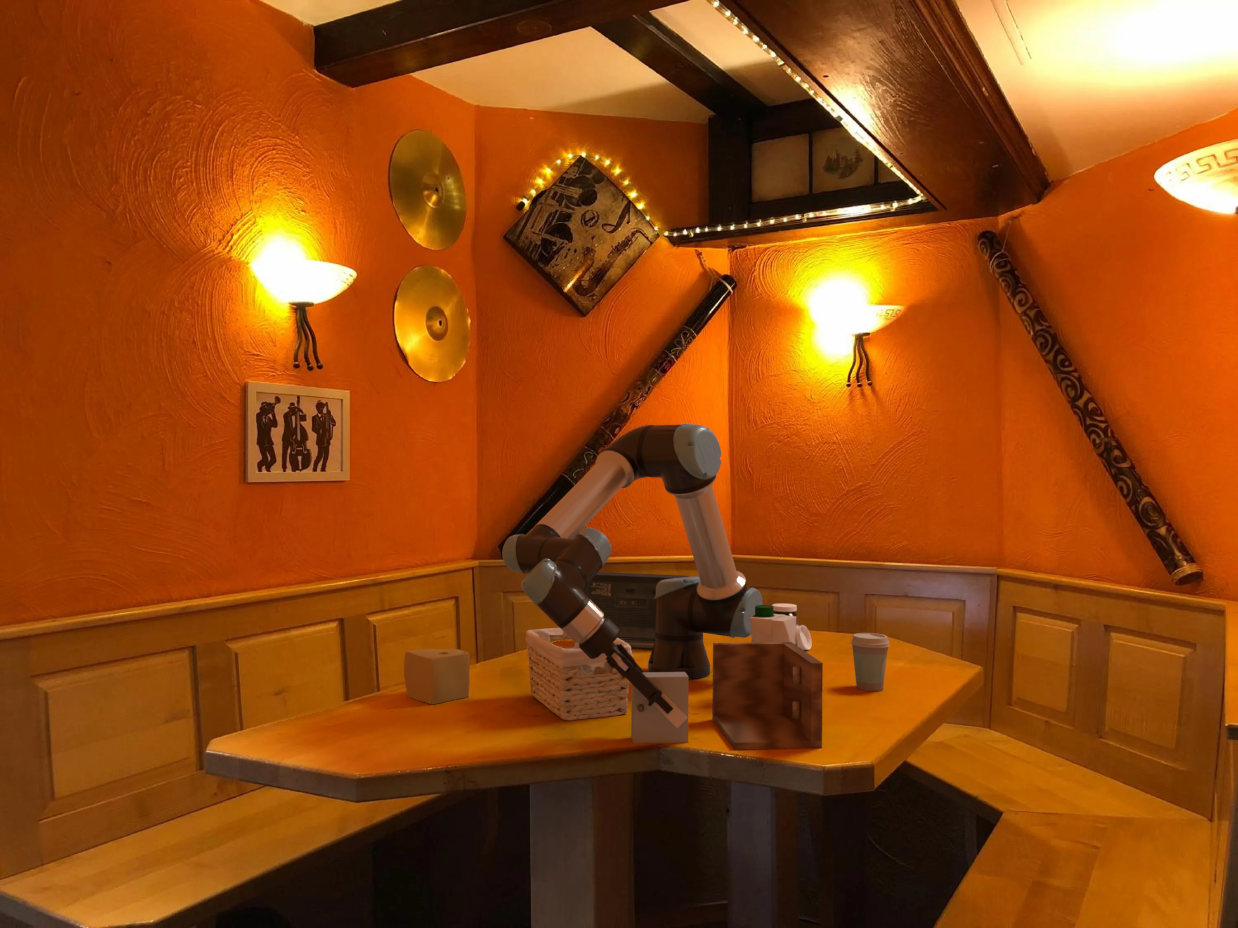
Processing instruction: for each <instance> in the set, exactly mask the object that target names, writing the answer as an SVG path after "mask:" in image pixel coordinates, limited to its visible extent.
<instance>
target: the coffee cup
mask: <svg viewBox="0 0 1238 928" xmlns="http://www.w3.org/2000/svg"><path fill="white" fill-rule="evenodd" d="M850 641H851V642H850V645H852V646H851V647H852V656H853V664H854V665H853V666H854V675H855V684H856V689H858V690H860V691H865V692H881V691H883V690H884V683H885V676H886V669H887V668H886V667H887V658H888V650H889V647H890V641H889V639H888V636H887V635H885V634H882V633H875V632H874V633H873V632H859V633H854V634H853V636H852V639H851V640H850Z"/></svg>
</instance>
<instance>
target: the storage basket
mask: <svg viewBox="0 0 1238 928" xmlns="http://www.w3.org/2000/svg"><path fill="white" fill-rule="evenodd" d="M563 633H564V631H563V630H562V629H561V628H559V627H550V628H539V629H538V628H537V629H528V630H526V632H525V635H526V637H525V644H527V645H526V648H527V649H526V650H527V651H526V652H527V655H528V656H527V657H528V663H529V664H528V668H529V683H530V684H529V685H530V693H531V695H532V696H533V698H535V699H536V700H537V701H539V703H541V704H543V705H544V706H545V707H546V708H547V709H548V710H549V711H550V712H552V713H554V714H555V715H557V717H558V718H560V719H562V720H563V721H577V720H585V719H597V718H607V717H617V716H620V715H626V714H627V713H628V705H629V704H628V703H629V699H628V698H629V693H630V692H629V687H630V683H631V682H630V681H629V680H628V679H627V678H626V677H623V676H622V675H621V674H620V673H619V672H618V671H617V670H616V669H615V668H612V667H611V666H610V665H609V664H608V663H607V660H606V658H607V656H606V655H605V654H604V653H603V654H601V655H600V656H599V657H597V658H595V659H590V658H589V657H588V656H587V655H586V654H585V653H584V652H583V651H582V650H581V649H580V648H579V643H580V642H579V643H575V642H574V641H573V644H574V646H573V647H570V648H569V647H568V648H563V647H562V646H557V645H556V644H554V643H552V642H551V641H553V642H554V641H568V640H572V639H571V638H570V637H569V635H568V636H567V637H563V635H562V634H563ZM614 643H615V644H618V645H620V644H622V645H623V646H624V647H625V649H626V650H627V652H628V653H629V654H630V655H631V656H632V657H633V658H634V656H633V652H632V649H631V646H630V645H629V644H627V643H626V642H624V641H623V640H621V639H619V638H616V640H615V641H614Z"/></svg>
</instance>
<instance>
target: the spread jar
mask: <svg viewBox="0 0 1238 928" xmlns="http://www.w3.org/2000/svg"><path fill="white" fill-rule="evenodd" d="M771 606H773V607H774V614H783V615H786V616H796V635H795V645H796V646H798V647H799V648H801V649H802V650H805V651H809V650H811V648H812V644H813V642H812V641H813V640H812V636H811V633H810V630H809V629H808V627H807V626H806V625H804V624H801V625H799V616H798V613H797V610H798V608H797V607H798V605H797V604H794V603H773V604H772V605H771Z"/></svg>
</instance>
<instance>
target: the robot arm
mask: <svg viewBox="0 0 1238 928" xmlns="http://www.w3.org/2000/svg"><path fill="white" fill-rule="evenodd" d="M721 457H722V450H721V445H720V441H719V439H718V437H717V436H716V434H715V433H714V432H713V431H712V430H711V429H710V428H708V427H707V426H705V425H702V424H693V423H682V424H647V425H646V424H645V425H641V426H638V427H634V428H633V429H631V430H629V431H627V432H626V433H624V434H622V435H621V436H619V437H618V438H616V439H615V440H614V441H612V442H611V443H610V444H609V445H608V446H606V447H605V448H604V449H603V450H602V452H600V453H599V454H598V455H597V457H596V459H595V460H596V461H595V465H594V466H593V467H592V468H591V469H589V470H588V472H586V474H585V475H584V476H583V477H582V478H581V479H580V480H578V482H577V483H576V484H575V485H574V486H573V487H572V488H571V489H570V490H569V491H567V493H566V494H565V495H564V496H563V497H562V498H561V499H560V500H559V501H558V502H557V503H556V504H555V505H554V506H553V507H552V508H551V509H550V510H549V511H548V512H547V513H546V514H545V516H543V517H542V518H541V519H540V520H539V521H538V522H537V523H536V524H535V525H534V526H533V527H532V528H531V529H530V530H529V531H528V532H527V533H526V534H524V533H519V534H514V535H511V536H509V537H508V538H507V539H506V540H505V542H504V545H503V547H502V559H503V562H504V564H505V567H506V568H507V569H509V570H510V571H511V572H517V573H521V574H525V575H526V576H525V577H523V579H522V580H521V583H520V587H521V588H520V589H521V590H522V591H523V593H525V595H526V596H527V598H529V600H531V601H532V603H533V604H534V605H535V606H537V608H539V609H540V610H541V611H542V612H543V613H544V614H545V615H546V616H547V617H548V618H549V619H550V620H551V621H552V622H553V624H555V625H556V626H558V627H557V628H561V629H562V630H563V631H564V633H563V634H562V635H563V637H567V636H568V635H569V637H570V638H571V639H570V640H571V641H572V642H573V643H574V642H575V643H579V642H580V643H579V648H580V649H581V650H582V651H583V652H584V653H585V654H586V655H587V656H588V657H589V658H590V659H595V658H597V657H599V656H600V655H601V654H603V653H604V654H605V655H606V656H607V658H606V660H607V663H608V664H609V665H610V666H611V667H612V668H615V669H616V670H617V671H618V672H619V673H620V674H621V675H622V676H623V677H626V678H627V679H628V680H629V681H630V682H629V683H630V684H631V685H632V684H633V685H634V686H635V687H636V688H637V689H638V690H639V691H640V692H641V693H642V694H643V695H644V696H645V697H646V698H647V699H648V701H649V703H648V705H649V706H651V705H652V704H653V705H654V706H655V707H656V708H657V709H658V710H659V711H660V712H661V713H662V714H663V715H664V716H665V717H666V718H667V719H668V720H669V721H670V722H671V723H672V724H673V725H674V726H675V727H676V728H678V727H679V726H680V725H681V724H682V723H683V722H684V721H685V720H686V719H687V718H688V719H689V716H688V717H687V716H686V715H685V714H684V713H683V712H682V711H681V710H680V709H679V708H678V707H677V706H676V705H675V704H674V703H673V702H672V701H671V700H670V699H669V698H668V697H667V696H666V695H665V694H664V693H663V692H661V691H660V690H658V688H657V687H656V686H655V685H654V684H653V683H652V682H651V681H650V680H649V679H648V678H647V677H646V676H645V675H644V674H643V672H646V671H645V670H644V669H643V668H642V667H641V666H640V665H639V664H638V663H637V662H636V660H635V658H634V656H633V655H632V656H633V657H632V656H631V655H630V654H629V653H628V652H627V650H626V649H625V647H624V646H623V645H622V644H620V645H618V644H615V643H614V641H615V640H616V638H617V637H618V635H619V632H620V630H619V628H618V627H617V626H616V625H615V624H614V623H613V622H612V621H611V620H610V619H609V618H606V617H605V618H603V617H604V613H603V612H602V611H601V610H600V609H599V608H598V607H597V606H596V605H595V604H594V603H593V602H592V601H591V600H590V599H589V598H588V597H587V596H586V595H585V594H584V593H583V592H582V590H583V589H584V588H585V587H586V586H587V584H588V583H589V582H590V581H591V580H592V578H593V577H594V576H595V575H596V574H597V573H598V572H600V570H601V569H603V567H604V566H605V564H606V562H607V561H608V559H609V558H610V556H611V554H612V545H611V543H610V541H609V539H608V537H607V536H606V535H605V534H604V533H603V532H602V531H600V530H598V529H596V528H594V527H593V528H592V527H586V526H587V525H588V524H589V523H590V522H591V521H592V520H593V519H594V518H595V517H596V515H598V513H600V511H601V510H602V509H604V507H605V506H606V505H607V504H608V503H609V502H610V500H611V499H613V497H615V495H616V494H617V493H618V492H619V491H620V490H621V489H625V488H628V487H630V486H631V485H632V484H633V483H634V482H635V481H637V480H640V479H643V478H653V479H654V478H656V479H658V478H659V479H662V483H663V486H664V489H665V491H666V493H668V494H669V495H671V496H673V497H674V498H675V502H676V505H677V507H678V511H679V514H680V518H681V521H682V524H683V527H684V530H685V534H686V538H687V541H688V544H689V548H690V550H691V554H692V557H693V561H694V565H695V566H696V570H697V574H698V576H689V577H682V578H673V579H666V580H661V581H659V582H658V584H657V586H656V595H655V643H654V646H653V649H652V650H651V653H650V654H649V658H648V662H647V672H685V673H686V674H687V675H688V677H689V680H693V679H701V678H706V677H708V676H709V675H710V674H711V664H710V659H709V656H708V653H707V650H706V646H705V643H704V634H706V635H707V634H708V635H715V636H721V637H722V636H723V637H729V638H731V639H735V638H743V639H744V638H749V637H751V636H752V634H751V626H750V617H752V616H754V615H755V606H757V605H763V596H762V594H761V591H760V590H759V589H756V588H755V587H749V586H748V582H747V579H746V577H745V575H744V573H742V572H741V571H738V570H737V569H736V565H735V561H734V558H733V553H732V551H731V547H730V544H729V540H728V536H727V532H726V530H725V525H724V523H723V519H722V515H721V512H720V508H719V506H718V505H719V504H718V502H717V501H718V500H717V497H716V495H715V491H714V487H713V485H714V483H715V481H716V479H717V475H718V472H720V468H721V465H722V460H721ZM585 527H586V528H585Z"/></svg>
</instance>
